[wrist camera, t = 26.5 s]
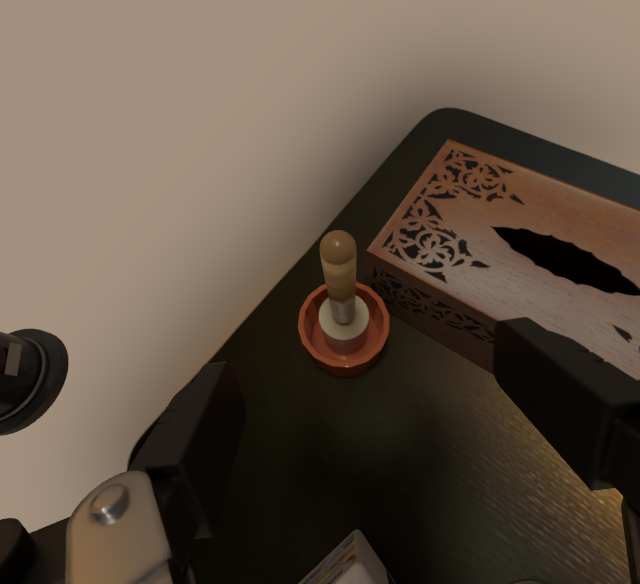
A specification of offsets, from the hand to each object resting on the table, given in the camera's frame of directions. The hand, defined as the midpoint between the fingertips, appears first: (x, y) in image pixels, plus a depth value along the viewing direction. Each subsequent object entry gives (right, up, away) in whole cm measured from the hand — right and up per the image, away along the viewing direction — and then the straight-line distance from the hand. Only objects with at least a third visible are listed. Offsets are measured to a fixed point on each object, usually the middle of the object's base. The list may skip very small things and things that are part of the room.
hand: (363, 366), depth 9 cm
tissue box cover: (+18, +1, +23) cm, 29 cm away
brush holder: (+1, -3, +23) cm, 23 cm away
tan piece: (+1, -2, +23) cm, 23 cm away
